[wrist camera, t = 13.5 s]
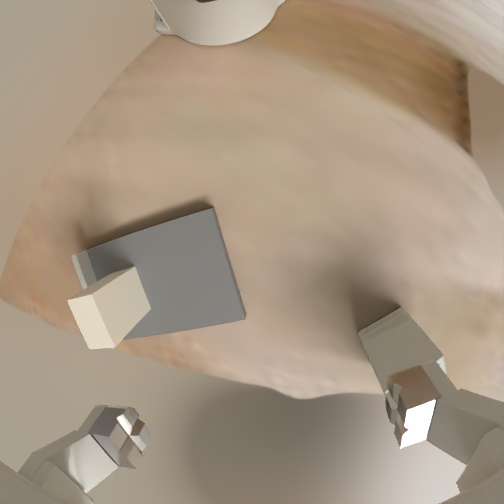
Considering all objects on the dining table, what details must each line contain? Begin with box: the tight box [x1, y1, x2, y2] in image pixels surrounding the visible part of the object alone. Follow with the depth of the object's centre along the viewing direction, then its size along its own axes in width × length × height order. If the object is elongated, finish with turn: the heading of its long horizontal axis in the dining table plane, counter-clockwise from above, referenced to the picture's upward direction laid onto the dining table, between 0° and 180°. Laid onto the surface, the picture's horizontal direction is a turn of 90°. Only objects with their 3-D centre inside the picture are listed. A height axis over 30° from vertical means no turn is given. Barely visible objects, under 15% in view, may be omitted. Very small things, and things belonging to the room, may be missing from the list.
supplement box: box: [358, 307, 447, 396], centre depth 29 cm, size 7×7×13 cm
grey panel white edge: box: [71, 207, 246, 348], centre depth 34 cm, size 14×20×4 cm
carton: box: [67, 266, 151, 349], centre depth 30 cm, size 6×4×10 cm
